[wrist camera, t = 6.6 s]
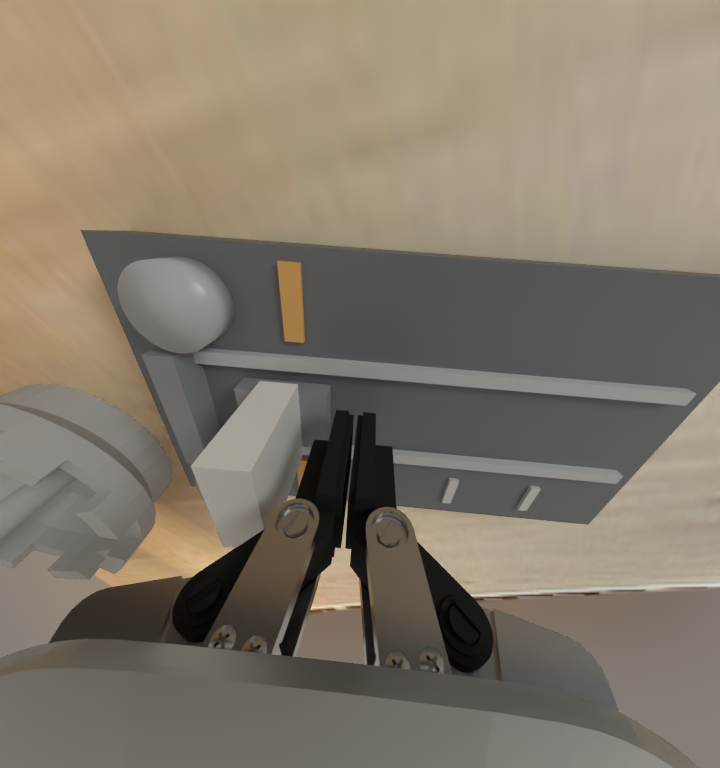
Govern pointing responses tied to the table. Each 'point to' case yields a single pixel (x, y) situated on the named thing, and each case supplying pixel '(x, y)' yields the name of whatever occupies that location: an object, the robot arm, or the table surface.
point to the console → (427, 358)
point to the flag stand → (75, 480)
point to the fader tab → (260, 453)
